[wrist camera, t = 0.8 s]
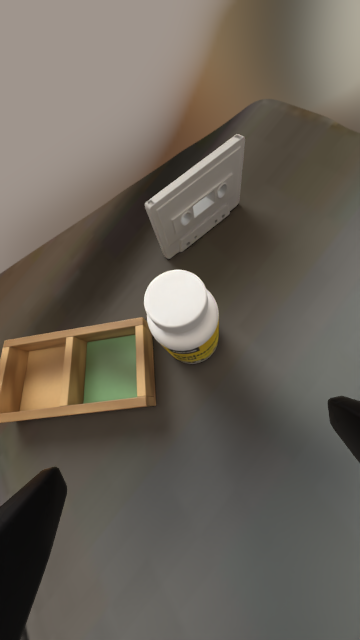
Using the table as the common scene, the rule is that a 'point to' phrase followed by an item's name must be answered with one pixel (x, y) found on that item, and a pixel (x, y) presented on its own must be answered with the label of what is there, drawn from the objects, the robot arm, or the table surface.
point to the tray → (78, 371)
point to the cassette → (198, 198)
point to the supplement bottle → (182, 316)
